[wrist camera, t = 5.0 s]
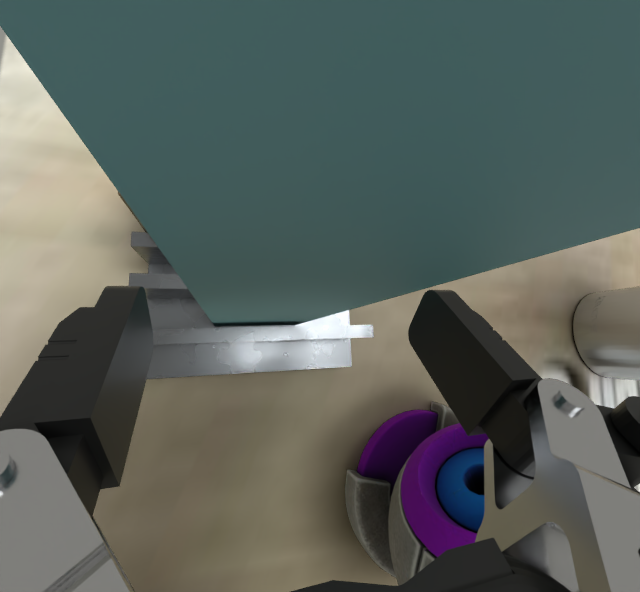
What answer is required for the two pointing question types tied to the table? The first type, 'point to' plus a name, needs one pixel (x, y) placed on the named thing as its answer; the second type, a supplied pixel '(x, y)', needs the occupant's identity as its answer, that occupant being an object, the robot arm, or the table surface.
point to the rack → (230, 331)
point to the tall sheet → (348, 136)
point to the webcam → (417, 490)
